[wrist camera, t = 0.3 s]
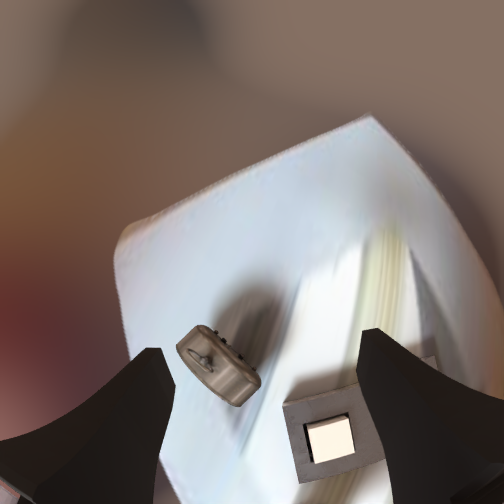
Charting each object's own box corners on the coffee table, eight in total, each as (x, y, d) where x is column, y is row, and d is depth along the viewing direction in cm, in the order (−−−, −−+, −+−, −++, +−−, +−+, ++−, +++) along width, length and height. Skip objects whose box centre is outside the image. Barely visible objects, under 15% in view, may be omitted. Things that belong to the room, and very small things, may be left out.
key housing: (435, 425, 28) (447, 428, 24) (298, 473, 29) (299, 483, 25) (422, 357, 33) (434, 355, 30) (283, 402, 34) (282, 406, 30)
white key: (348, 444, 28) (354, 452, 25) (312, 454, 28) (315, 463, 25) (342, 413, 30) (348, 418, 27) (306, 423, 31) (308, 429, 27)
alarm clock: (194, 351, 39) (139, 336, 24) (218, 326, 40) (177, 298, 25) (246, 403, 35) (217, 423, 20) (272, 377, 36) (261, 383, 21)
